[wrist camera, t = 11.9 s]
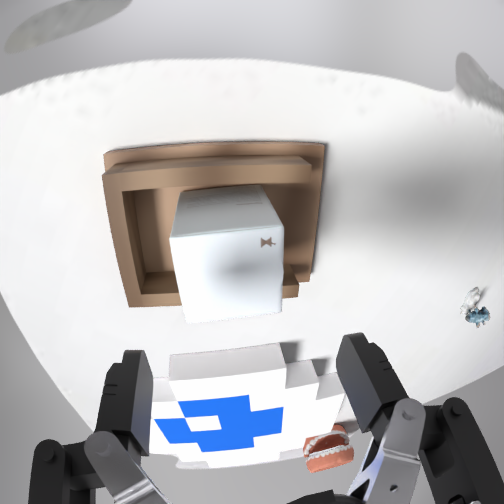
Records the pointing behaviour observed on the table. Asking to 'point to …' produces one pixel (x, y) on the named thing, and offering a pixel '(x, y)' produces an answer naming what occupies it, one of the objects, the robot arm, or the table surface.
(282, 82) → the table surface
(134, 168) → the U-rest
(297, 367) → the pixel art tile
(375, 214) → the table surface
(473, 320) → the sculpture
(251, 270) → the product box
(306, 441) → the dentures
